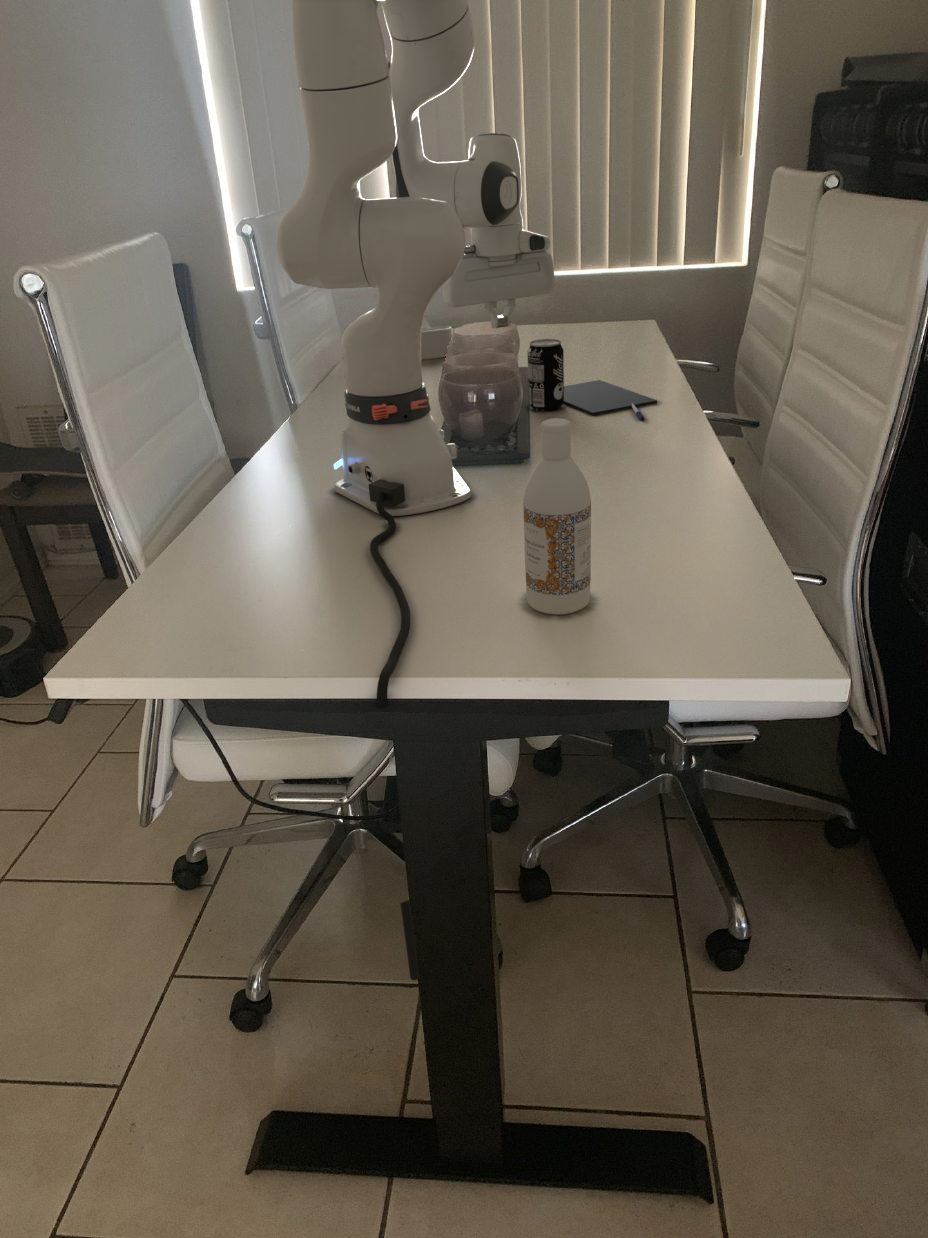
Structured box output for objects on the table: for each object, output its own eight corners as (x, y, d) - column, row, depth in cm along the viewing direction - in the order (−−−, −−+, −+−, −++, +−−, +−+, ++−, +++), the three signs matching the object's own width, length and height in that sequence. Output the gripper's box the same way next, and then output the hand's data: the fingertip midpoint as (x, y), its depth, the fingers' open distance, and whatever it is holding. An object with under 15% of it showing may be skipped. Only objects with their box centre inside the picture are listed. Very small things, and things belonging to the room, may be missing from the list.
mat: (657, 402, 165) (657, 400, 164) (592, 415, 160) (592, 412, 160) (599, 382, 181) (599, 379, 181) (539, 393, 176) (539, 390, 176)
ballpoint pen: (645, 421, 155) (645, 415, 155) (640, 421, 155) (640, 416, 155) (632, 405, 164) (632, 400, 164) (628, 406, 164) (628, 400, 164)
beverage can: (563, 402, 169) (563, 337, 163) (563, 411, 163) (563, 344, 158) (529, 403, 170) (527, 338, 164) (528, 412, 164) (526, 346, 158)
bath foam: (513, 600, 98) (506, 422, 88) (562, 581, 101) (560, 408, 92) (554, 623, 93) (550, 436, 83) (603, 603, 96) (606, 421, 86)
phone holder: (456, 355, 212) (451, 275, 203) (415, 360, 210) (408, 280, 201) (439, 342, 227) (433, 267, 218) (400, 347, 225) (393, 271, 216)
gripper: (448, 250, 143) (454, 338, 150) (558, 237, 150) (559, 321, 157) (433, 247, 149) (439, 332, 155) (540, 234, 155) (542, 316, 162)
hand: (500, 326), depth 156 cm, fingers closed
